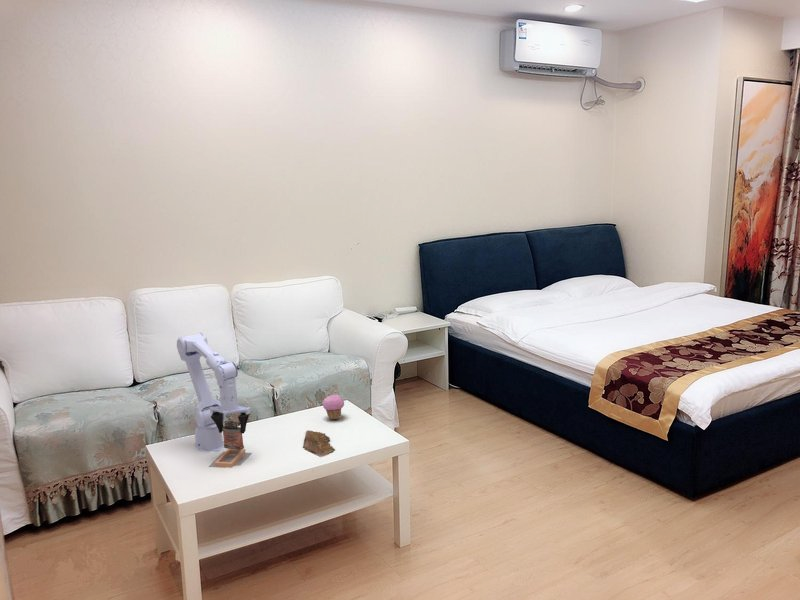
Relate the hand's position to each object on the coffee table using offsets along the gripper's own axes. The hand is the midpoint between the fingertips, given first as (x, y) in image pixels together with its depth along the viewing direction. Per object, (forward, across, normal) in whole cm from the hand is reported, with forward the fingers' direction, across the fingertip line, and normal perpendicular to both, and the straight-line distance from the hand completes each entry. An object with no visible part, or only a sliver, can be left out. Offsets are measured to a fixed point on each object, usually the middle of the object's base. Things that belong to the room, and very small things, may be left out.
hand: (232, 432), depth 220 cm
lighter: (+6, 0, 0) cm, 6 cm away
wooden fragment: (+12, +30, +18) cm, 37 cm away
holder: (+10, -1, -2) cm, 11 cm away
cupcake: (+11, +26, +40) cm, 49 cm away
